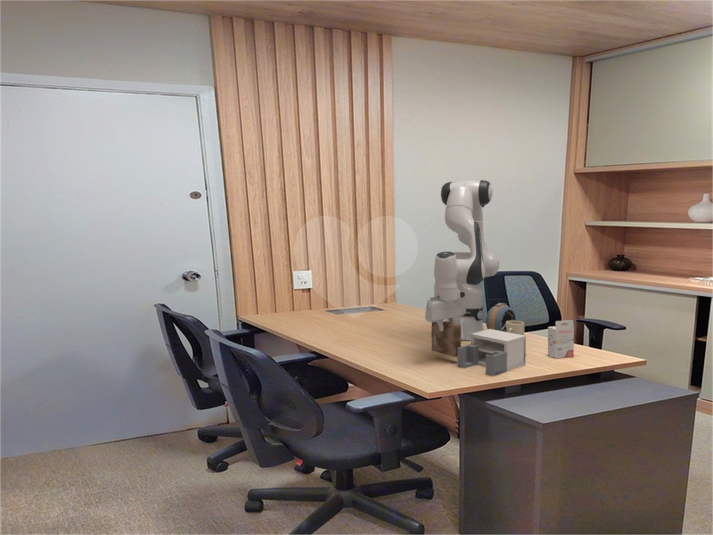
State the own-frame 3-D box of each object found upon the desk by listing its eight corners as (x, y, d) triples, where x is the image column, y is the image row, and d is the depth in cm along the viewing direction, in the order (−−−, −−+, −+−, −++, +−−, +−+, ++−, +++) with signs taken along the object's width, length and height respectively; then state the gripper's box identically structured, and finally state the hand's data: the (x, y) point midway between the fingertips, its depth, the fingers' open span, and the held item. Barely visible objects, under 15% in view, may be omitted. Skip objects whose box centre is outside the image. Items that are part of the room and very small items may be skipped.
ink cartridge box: (565, 353, 204) (566, 317, 203) (573, 357, 199) (574, 319, 198) (546, 355, 202) (547, 319, 200) (554, 358, 197) (555, 321, 196)
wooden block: (430, 351, 201) (429, 321, 199) (436, 349, 203) (436, 319, 202) (454, 357, 192) (454, 326, 190) (460, 355, 194) (460, 324, 193)
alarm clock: (500, 348, 214) (501, 306, 213) (481, 343, 222) (481, 303, 220) (519, 342, 223) (520, 302, 222) (500, 338, 231) (501, 299, 229)
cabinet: (457, 366, 190) (457, 337, 189) (489, 356, 202) (489, 328, 201) (494, 375, 177) (494, 344, 176) (525, 364, 190) (525, 335, 189)
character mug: (512, 349, 211) (512, 318, 210) (528, 352, 207) (529, 321, 205) (500, 355, 203) (500, 323, 202) (517, 358, 198) (517, 325, 197)
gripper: (433, 299, 186) (434, 336, 188) (468, 292, 199) (468, 326, 201) (421, 297, 191) (421, 333, 192) (456, 290, 204) (456, 324, 205)
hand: (446, 329), depth 197 cm, fingers closed on wooden block, 3 cm apart
